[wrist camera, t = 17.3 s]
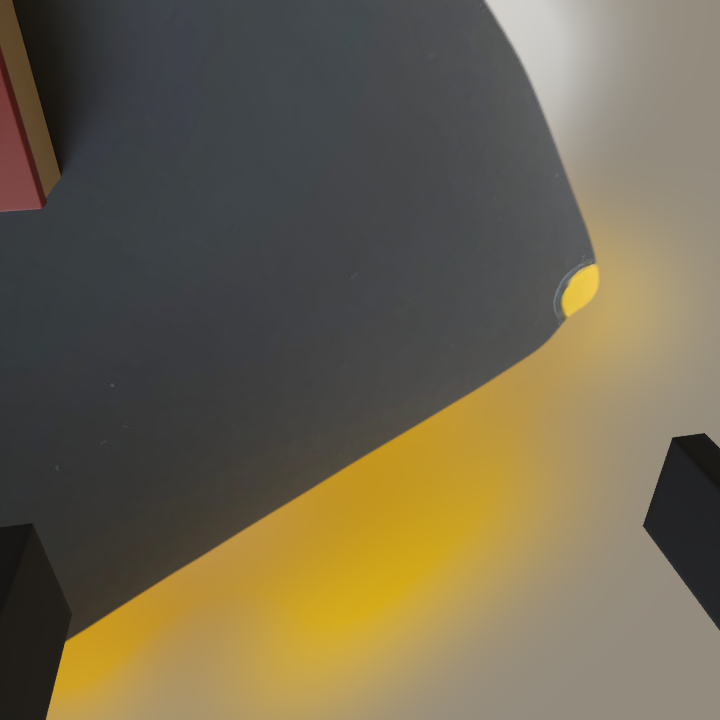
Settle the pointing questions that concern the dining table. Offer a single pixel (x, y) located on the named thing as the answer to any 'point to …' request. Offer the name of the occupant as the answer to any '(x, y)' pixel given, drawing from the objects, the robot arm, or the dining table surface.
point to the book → (21, 125)
